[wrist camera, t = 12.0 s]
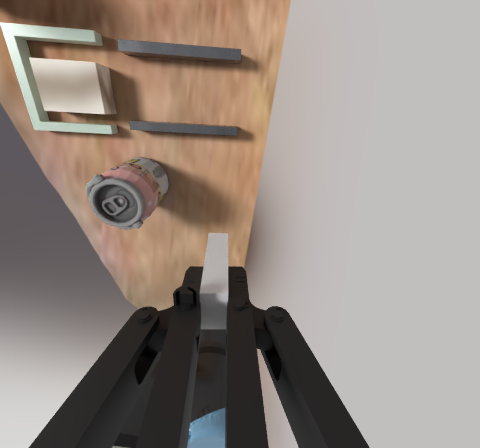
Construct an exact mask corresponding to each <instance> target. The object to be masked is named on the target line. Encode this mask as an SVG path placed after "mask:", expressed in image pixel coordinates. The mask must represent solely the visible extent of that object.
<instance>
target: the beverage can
mask: <svg viewBox="0 0 480 448" xmlns="http://www.w3.org/2000/svg"><path fill="white" fill-rule="evenodd" d="M168 184H169V183H168V178H167V175H166V173H165V171H164V169H163V168H162V167H161V166H160V165H159V164H158V163H156V162H154V161H153V160H151V159H148V158H144V157H136V158H133V159H130V160H128V161H126V162H124V163H122V164H120V165H118V166H116V167H114V168H111V169H109V170H107V171H105V172H103V173H102V174H101V175H98V174H97V175H94V177H93V179H92V180H91V181H89V182H88V183H87V184H86V193H87V195H88V198H89V202H90V205H91V208H92V210H93V211H94V213H95V214H96V216H97V217H98V218H100V219H101V220H102V221H103V222H105V223H107V224H109V225H111V226H116V227H118V228H120V229H124V230H128V229H132V228H134V229H135V228H140V227H141V226H142V224H143V222H142V221H144V220H145V219H146V218H148V217H149V216H150V215H151V213H152V212H153V211H154V209H155V208H156V207H157V205H158V204H159V203H160V201H161V200H162V199H163V197H164V196H165V194H166V192H167V191H168Z"/></svg>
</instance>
